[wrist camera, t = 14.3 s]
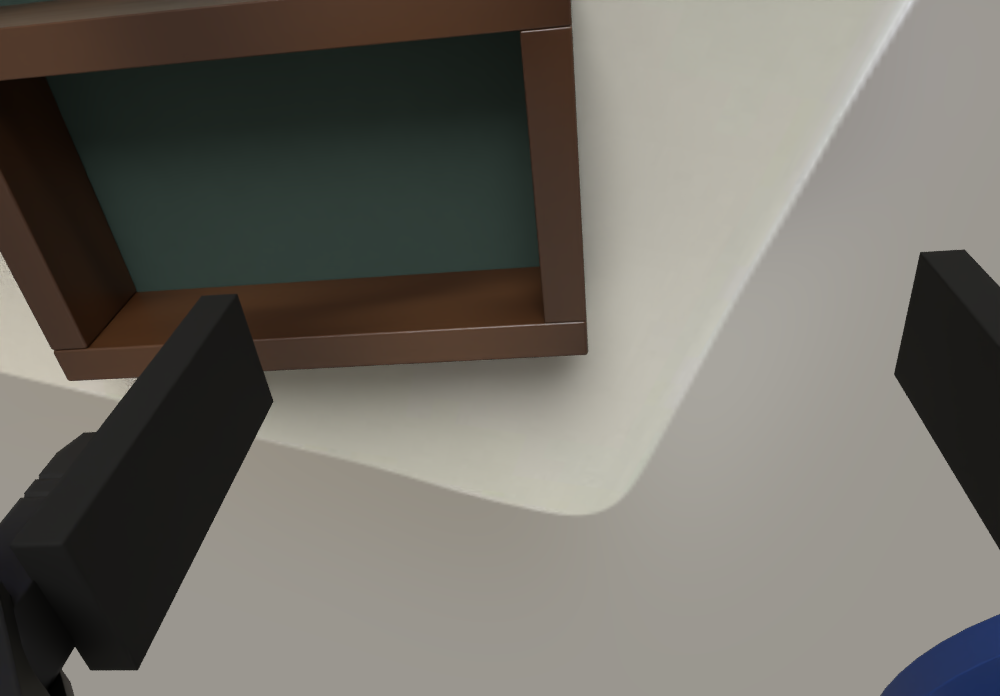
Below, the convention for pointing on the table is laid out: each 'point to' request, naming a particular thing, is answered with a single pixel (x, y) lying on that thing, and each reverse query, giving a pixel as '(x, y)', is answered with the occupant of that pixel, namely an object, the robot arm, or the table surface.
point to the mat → (311, 162)
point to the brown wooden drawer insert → (293, 305)
